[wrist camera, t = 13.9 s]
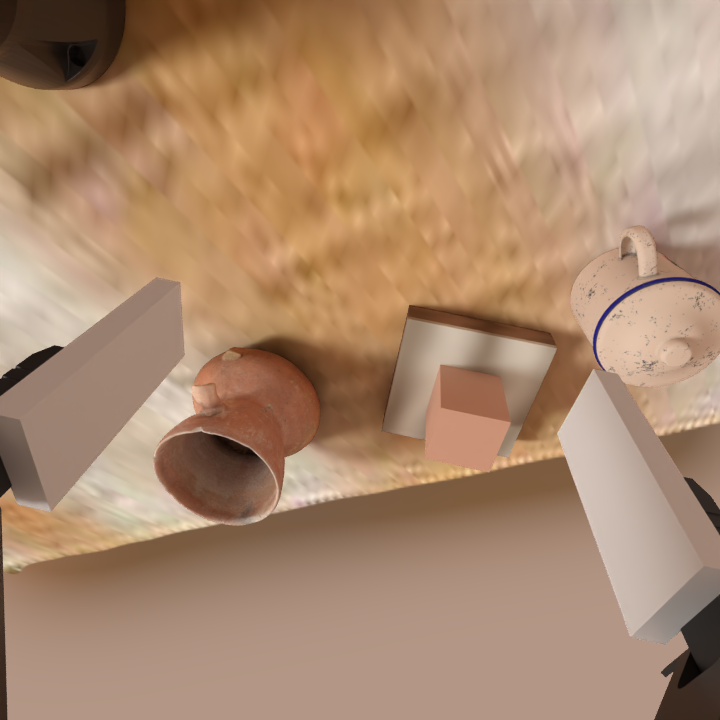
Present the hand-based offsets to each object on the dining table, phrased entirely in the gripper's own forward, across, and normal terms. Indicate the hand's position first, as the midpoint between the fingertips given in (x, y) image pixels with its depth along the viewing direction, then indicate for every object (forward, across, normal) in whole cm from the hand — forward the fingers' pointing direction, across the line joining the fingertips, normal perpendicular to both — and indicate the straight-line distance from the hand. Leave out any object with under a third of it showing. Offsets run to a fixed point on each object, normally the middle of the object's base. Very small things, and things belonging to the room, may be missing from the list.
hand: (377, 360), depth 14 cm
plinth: (+28, +10, -18) cm, 35 cm away
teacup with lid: (+28, +20, -4) cm, 35 cm away
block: (+25, +10, -18) cm, 33 cm away
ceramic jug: (+29, -11, -27) cm, 41 cm away
